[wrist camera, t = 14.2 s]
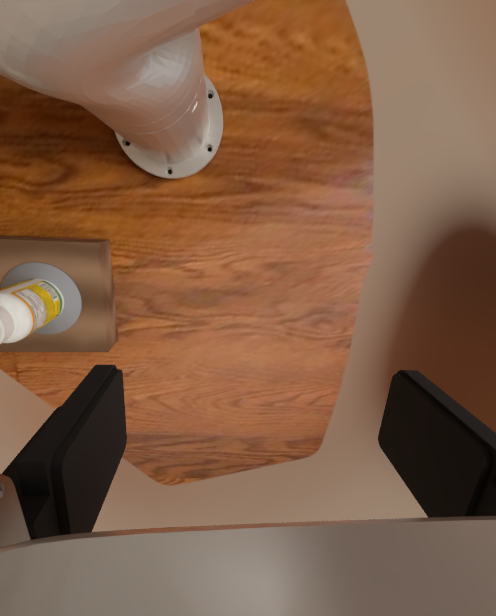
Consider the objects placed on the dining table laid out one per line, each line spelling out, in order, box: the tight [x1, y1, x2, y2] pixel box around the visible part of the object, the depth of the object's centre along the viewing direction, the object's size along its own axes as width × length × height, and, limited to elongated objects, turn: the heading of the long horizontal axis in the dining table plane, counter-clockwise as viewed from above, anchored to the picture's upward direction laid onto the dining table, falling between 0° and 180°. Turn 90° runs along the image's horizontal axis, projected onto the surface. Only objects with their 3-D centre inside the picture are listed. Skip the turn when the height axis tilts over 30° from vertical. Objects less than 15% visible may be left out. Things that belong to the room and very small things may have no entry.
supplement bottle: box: [0, 278, 64, 344], centre depth 31 cm, size 5×5×10 cm
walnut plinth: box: [0, 235, 118, 352], centre depth 38 cm, size 14×14×4 cm
